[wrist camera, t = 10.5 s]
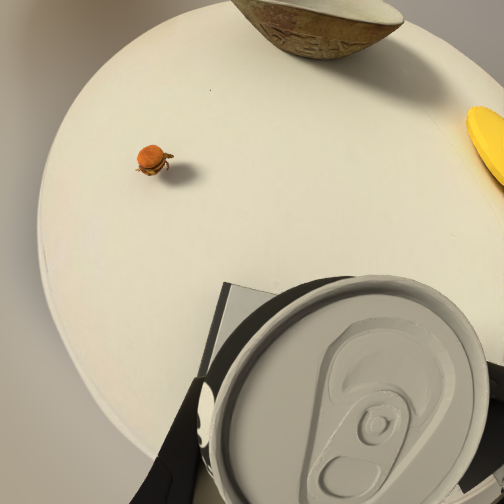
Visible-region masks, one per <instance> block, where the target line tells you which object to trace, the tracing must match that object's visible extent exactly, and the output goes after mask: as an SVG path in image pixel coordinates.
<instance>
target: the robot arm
mask: <svg viewBox="0 0 504 504" xmlns="http://www.w3.org/2000/svg"><path fill="white" fill-rule="evenodd" d="M486 363H487V367H488V375H489V406H488V414H487V419H486V423H485V427H484V431H483V435H482V437H481V440H480V443H479V446H478V448H477V451H476V453H475V455H474V457H473V459H472V461H471V463H470V465H469V467H468V469H467V470H466V472H465V474H464V475H463V477H462V478H461V480H460V481H459V482H458V484H459V486H460V488H461V490H462V492H463V493H464V494H465V493H466V492H468V491H469V490H471V489H472V488H474V487H475V486H476V485H478V484H479V483H481V482H482V481H483V480H485V479H486V478H487V477H489V476H490V475H491V474H493V475H494V477H495V478H496V480H497V481H498V483H499V484H500V486H502V490H501V493H502V494H501V495H500V496H499V497H498V498H496V499H495V500H494V501H493V502H492V503H491V504H504V367H503V366H500V365H497V364H494V363H491V362H488V361H486ZM205 378H206V376H201V377H196V378H194V379H193V381H192V384H191V386H190V388H189V390H188V392H187V394H186V396H185V398H184V400H183V403H182V405H181V407H180V409H179V411H178V413H177V415H176V417H175V419H174V422H173V424H172V426H171V428H170V430H169V432H168V434H167V436H166V438H165V441H164V443H163V445H162V447H161V449H160V451H159V453H158V457H156V459H155V461H154V464H153V466H152V468H151V470H150V471H149V473H148V475H147V477H146V479H145V481H144V482H143V484H142V485H141V487H140V488H139V490H138V492H137V493H136V494H135V496H134V497H133V499H132V500H131V502H130V503H129V504H226V503H225V501H224V500H223V498H222V496H221V495H220V493H219V490H218V488H217V486H216V484H215V482H214V481H213V479H212V478H211V476H210V474H209V472H208V470H207V468H206V465H205V463H204V460H203V458H202V455H201V451H200V446H199V441H198V433H197V414H198V405H199V399H200V395H201V390H202V387H203V383H204V380H205Z"/></svg>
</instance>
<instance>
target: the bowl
mask: <svg viewBox="0 0 504 504" xmlns="http://www.w3.org/2000/svg"><path fill="white" fill-rule="evenodd" d="M231 1H232V2H233V3H234V5H235V6H236V7H237V8H238V9H239V10H240V12H241V13H242V14H243V15H244V16H245V18H246V19H248V20H249V21H250V23H251V24H252V25H253V26H254V27H255V28H256V29H257V30H258V31H259V32H260V33H261V34H262V35H263V36H264V37H265V38H266V39H267V40H269V41H270V42H271V43H272V44H273V45H275V46H276V47H277V48H280V49H282V50H284V51H286V52H289V53H293V54H296V55H299V56H304V57H309V58H315V59H338V58H342V57H345V56H348V55H350V54H353V53H356V52H358V51H360V50H363V49H365V48H367V47H369V46H371V45H373V44H375V43H376V42H378V41H380V40H382V39H383V38H385V37H387V36H388V35H389V34H391V33H392V32H394V31H395V30H396V29H398V28H399V27H400V26H401V25H402V24H403V23H404V17H403V15H402V14H401V13H400V12H399V11H397V10H396V9H395V8H393V7H392V6H390V5H388V4H387V3H385V2H383V1H381V0H231Z"/></svg>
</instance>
